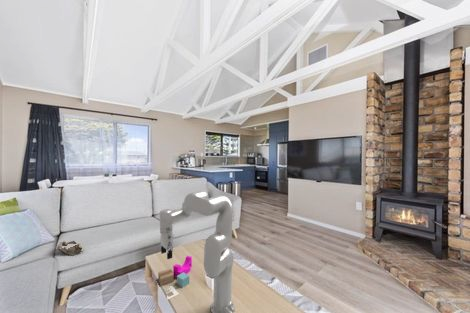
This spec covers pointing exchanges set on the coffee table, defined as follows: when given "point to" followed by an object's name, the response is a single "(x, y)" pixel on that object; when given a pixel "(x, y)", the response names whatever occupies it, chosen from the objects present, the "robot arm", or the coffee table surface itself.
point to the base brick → (165, 277)
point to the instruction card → (171, 292)
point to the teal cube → (183, 279)
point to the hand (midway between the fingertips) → (166, 255)
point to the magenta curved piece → (183, 267)
